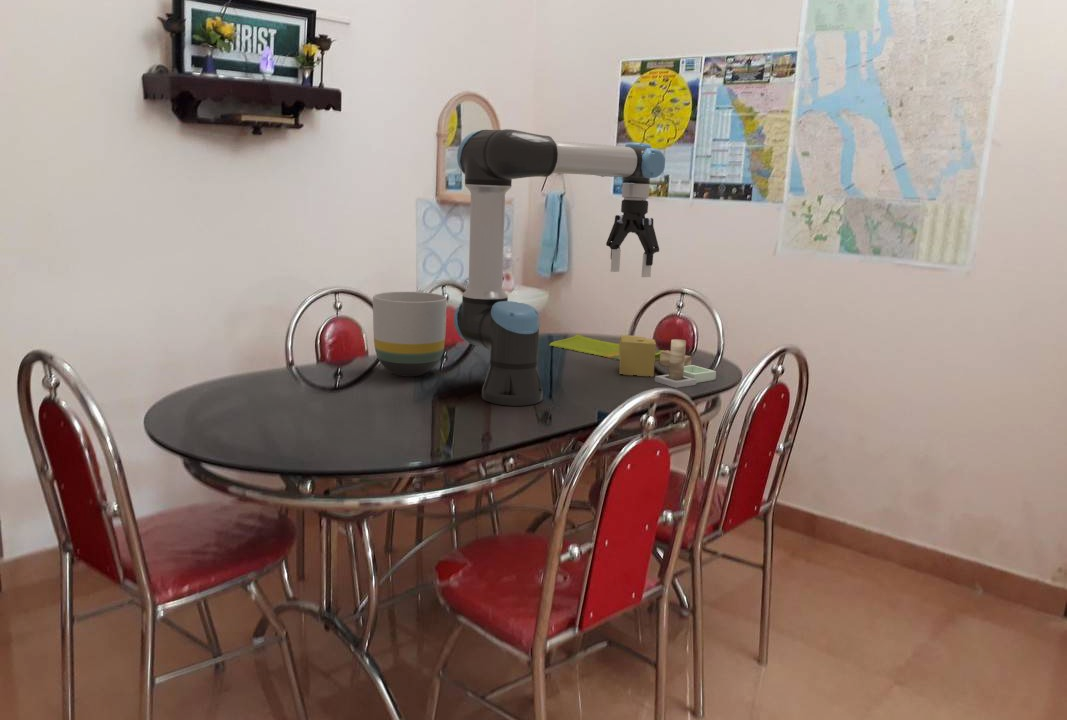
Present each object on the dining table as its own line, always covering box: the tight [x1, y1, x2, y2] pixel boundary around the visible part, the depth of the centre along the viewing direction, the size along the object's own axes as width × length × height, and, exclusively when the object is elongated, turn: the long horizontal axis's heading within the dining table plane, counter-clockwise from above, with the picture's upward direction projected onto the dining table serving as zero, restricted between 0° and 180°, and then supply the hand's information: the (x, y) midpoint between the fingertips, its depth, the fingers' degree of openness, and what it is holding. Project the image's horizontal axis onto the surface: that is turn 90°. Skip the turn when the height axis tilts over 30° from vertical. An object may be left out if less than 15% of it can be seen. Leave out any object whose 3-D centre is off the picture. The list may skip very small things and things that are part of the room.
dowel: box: [668, 338, 687, 381], centre depth 230 cm, size 4×4×12 cm
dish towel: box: [548, 333, 665, 362], centre depth 269 cm, size 15×36×3 cm, turn 49°
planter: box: [372, 291, 448, 377], centre depth 226 cm, size 20×20×21 cm
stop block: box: [659, 349, 693, 368], centre depth 251 cm, size 3×10×4 cm, turn 36°
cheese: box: [618, 334, 657, 378], centre depth 242 cm, size 10×11×10 cm
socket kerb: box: [654, 373, 697, 388], centre depth 231 cm, size 8×8×2 cm
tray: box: [683, 364, 717, 384], centre depth 238 cm, size 9×9×2 cm
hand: (630, 274), depth 241 cm, fingers open, 13 cm apart
